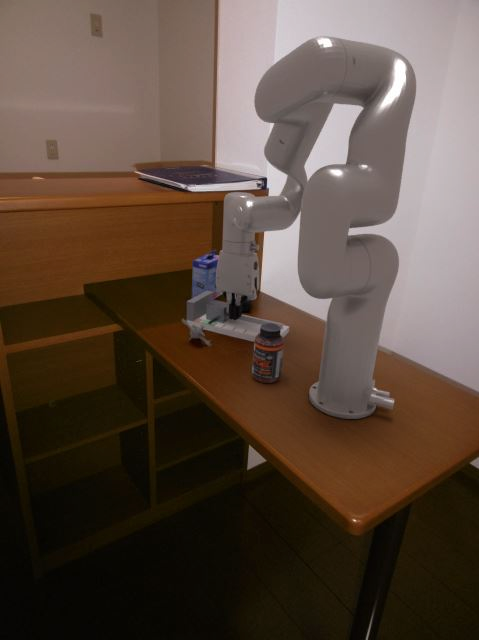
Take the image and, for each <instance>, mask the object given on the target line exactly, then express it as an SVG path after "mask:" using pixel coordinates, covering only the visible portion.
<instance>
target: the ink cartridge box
mask: <svg viewBox="0 0 479 640" xmlns="http://www.w3.org/2000/svg"><path fill="white" fill-rule="evenodd" d="M216 251H217V249H214V250H212V251H210V252H209V253H207V254H204V255H203V256H199V257H197V258H196V259H195V258H194V259H193V260H192V274H191V275H192V278H191V279H192V280H191V281H192V283H191V284H192V285H191V299H192V298H194V297H196V296H198V295H199V294H201V293H203V292H205V291H212V292H213V300H216V298H219V297H220V296H221V294H219V293H217V292H216V289H217V287H216V270H217V263H218V258H219V255H218V254H215V253H216Z"/></svg>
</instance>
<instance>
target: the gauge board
mask: <svg viewBox="0 0 479 640" xmlns="http://www.w3.org/2000/svg"><path fill="white" fill-rule="evenodd" d="M213 300H214V299H213V292H212V291H205V292H203V293H201V294H199V295H198V296H196V297H194V298H192V297H191V299H188V300H186V320H187V323H188V324H189V325H190V326H192V325H195V326H196V327H199V325H200V324H201V323H202V325H203V326H204V327H205V326H206V327H205V328H204V329H203V330H205V331H208V332H211V333H212V332H213V333H217V334H220V335H224V336H228V337H232V338H236V339H241V340H246V341H249V342H252V343H253V342H254V341H255V337H256V336H257V335H258V334H259V333H260V327H261V325H262V324H265V323H273V324H277V325H279V326H280V328H281V330H280V335H281V336H282V337H283V338H284V337H285V336H287V334H289V332H290V326H288V325H285V324H284V323H281V322H278V321H277V322H276V321H273V320H269V319H264V318H259V317H256V316H250V315H246V314H242V315H241V316H240V318H238V319H237V320H233V319H229V320H227V321H226V322H224V323H221V322H217V321H214V322H212V323H211V324H209V323H208V322H209V321H211V320H208V319H206V304H208V303H210V302H211V301H213ZM192 327H193V326H192Z"/></svg>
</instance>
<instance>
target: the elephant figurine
mask: <svg viewBox="0 0 479 640" xmlns="http://www.w3.org/2000/svg"><path fill="white" fill-rule="evenodd" d="M181 322H182V324H184V325H185V326H187V327H188V329H189V330H190V331H189V335H190V337H189V338H188V341H190V340H192V339H194V340H195V339H200V340H201V341H203V343H204V344H205V345H207V347H212V345H213V344H212V343H210V342H211V340H207V339H206V338H205V336H206V335H205V333H204V332H203V330H204V328H205V327H206V326H205V327H204V326H203V325H202V323H201V324H200V325H199V327H196V326H195V325H192V326H193V327H192V326H190V325H189V324H188V323H187V319H186V320H185V319H184V318H182V319H181Z"/></svg>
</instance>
